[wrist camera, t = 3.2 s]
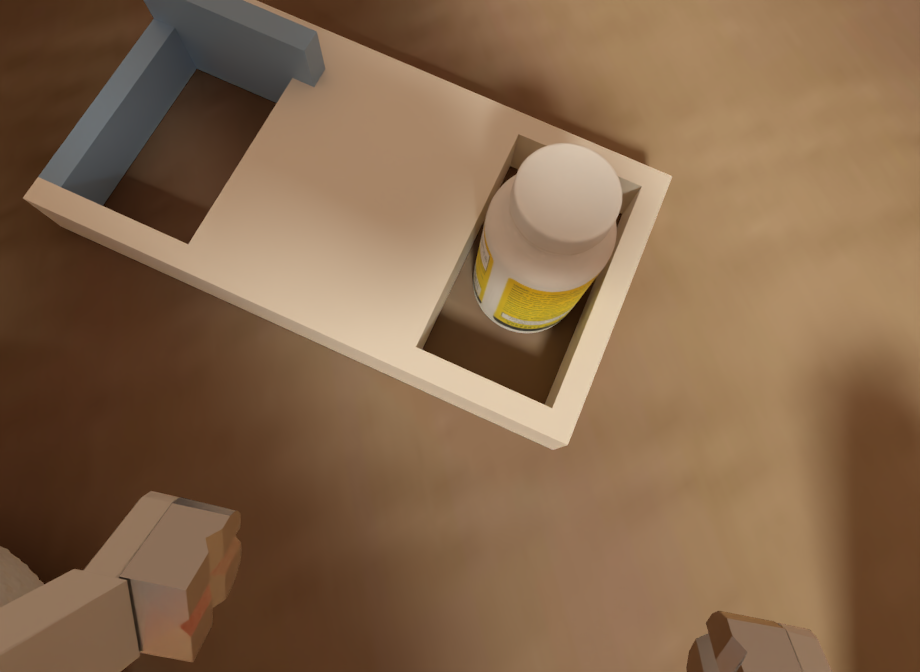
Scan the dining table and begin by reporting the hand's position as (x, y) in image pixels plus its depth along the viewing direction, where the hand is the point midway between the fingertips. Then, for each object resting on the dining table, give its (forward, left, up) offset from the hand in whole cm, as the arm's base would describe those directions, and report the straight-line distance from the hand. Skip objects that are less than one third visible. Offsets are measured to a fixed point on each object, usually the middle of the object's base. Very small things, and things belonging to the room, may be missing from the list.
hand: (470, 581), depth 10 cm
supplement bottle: (+13, +1, -18) cm, 22 cm away
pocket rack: (+13, +10, -18) cm, 24 cm away
